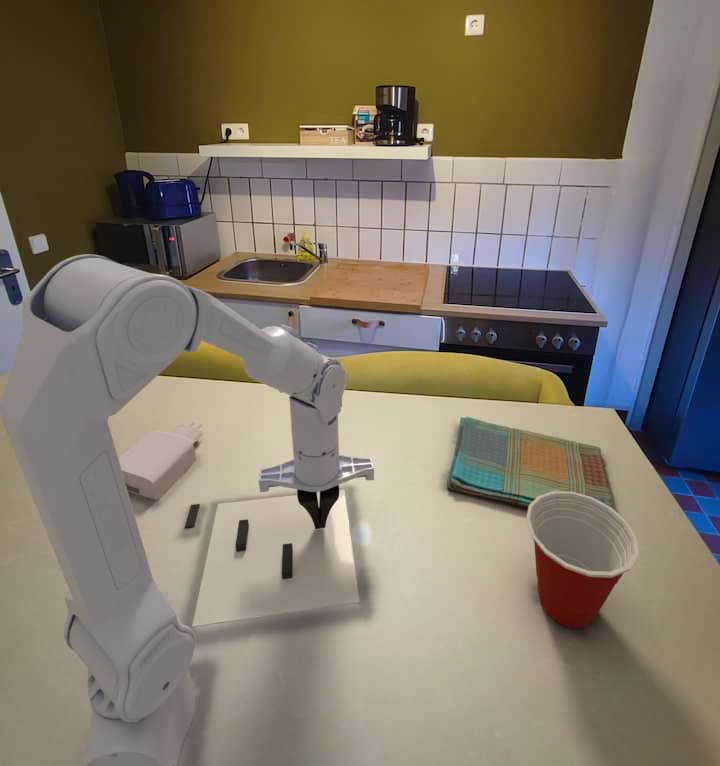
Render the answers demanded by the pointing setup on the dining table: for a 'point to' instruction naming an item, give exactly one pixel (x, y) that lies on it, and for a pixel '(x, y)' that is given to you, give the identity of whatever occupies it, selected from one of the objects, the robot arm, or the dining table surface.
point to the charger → (159, 460)
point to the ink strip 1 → (192, 516)
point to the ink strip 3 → (287, 561)
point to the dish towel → (523, 465)
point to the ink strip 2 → (242, 535)
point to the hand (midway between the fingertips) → (319, 522)
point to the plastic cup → (578, 554)
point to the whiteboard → (275, 561)
